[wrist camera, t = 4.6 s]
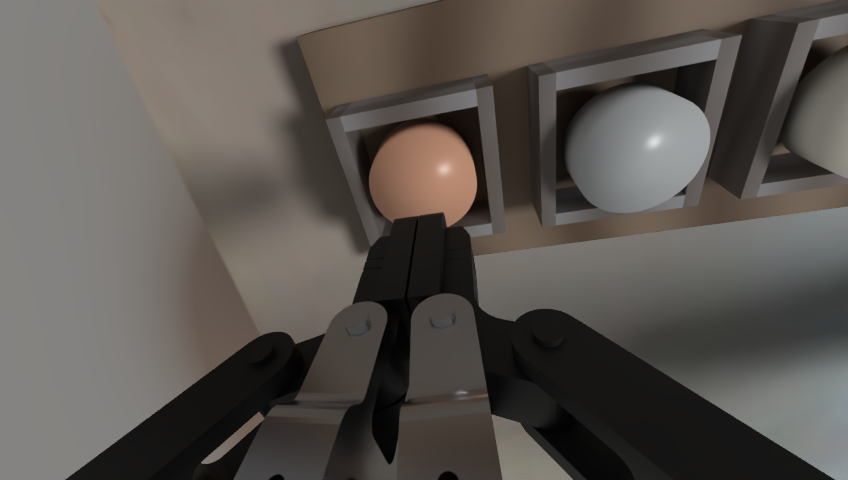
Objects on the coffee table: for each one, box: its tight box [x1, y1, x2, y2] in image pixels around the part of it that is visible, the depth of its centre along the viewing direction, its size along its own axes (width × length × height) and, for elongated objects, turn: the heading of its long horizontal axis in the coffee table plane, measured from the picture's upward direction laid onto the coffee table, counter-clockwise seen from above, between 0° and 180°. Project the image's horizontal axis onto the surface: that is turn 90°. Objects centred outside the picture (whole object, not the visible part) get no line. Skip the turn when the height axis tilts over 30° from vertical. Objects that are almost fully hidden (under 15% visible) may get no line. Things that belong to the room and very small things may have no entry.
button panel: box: [297, 0, 848, 256], centre depth 16 cm, size 24×12×4 cm, turn 102°
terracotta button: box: [369, 118, 477, 227], centre depth 15 cm, size 4×4×2 cm
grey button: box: [562, 82, 710, 213], centre depth 14 cm, size 4×4×2 cm
